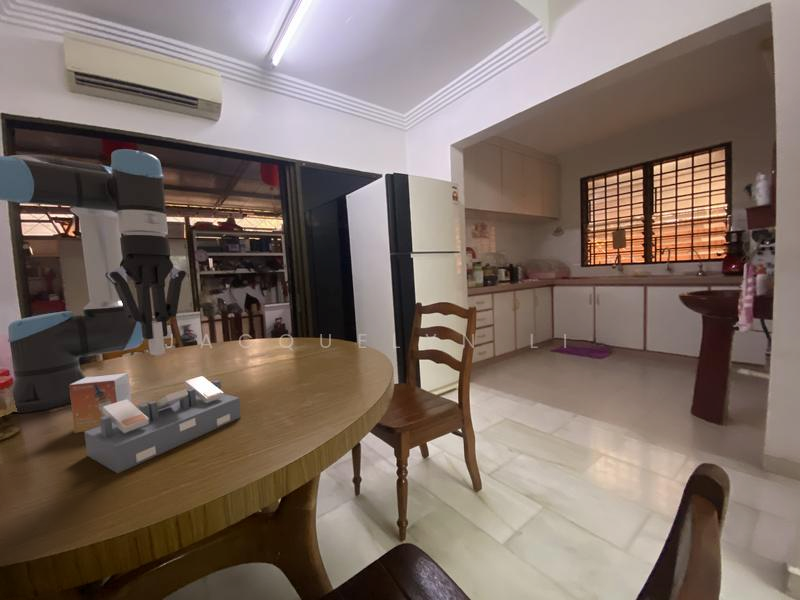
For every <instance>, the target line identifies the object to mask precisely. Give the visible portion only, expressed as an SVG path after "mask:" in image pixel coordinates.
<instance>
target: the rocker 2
mask: <svg viewBox="0 0 800 600" xmlns="http://www.w3.org/2000/svg"><path fill="white" fill-rule="evenodd" d="M187 390H188V388H183V389H179V390H177V391H173V392H171V393H168V394H165V395H163V397H162V398H160V399H159V400H158V401H156V402H157V405H158V410H161V409H164V408H167V407H169V406H172V405H173V404H175V403H176V402H178V401H179V400H181V399H182V398H184V397H185V396H187V395H188V392H187Z"/></svg>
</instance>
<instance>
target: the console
mask: <svg viewBox="0 0 800 600" xmlns="http://www.w3.org/2000/svg"><path fill="white" fill-rule="evenodd" d="M211 383H212V384H213V385H215V386H216V387H217V388H218V389H220V390H221V391H222V382H221V380H212V382H211ZM187 392H188V395H187V396H185V397H184V398H182V399H181V400H179V401H178V402H176V403H175V404H173V405H172V406H169V407H167V408H164V409H161V410H158V405H157V401H155V400H151V401H147V402H146V403H145V402H144V403H141V404H139V405H137V406H138V407H137V408H138V409H139V410H140V411H141V412H142V413H143V414H145V415H146V416H147V417H148V418H149V424H147V425H145V426H142V427H139V428H137V429H134V430H131V431H129V432H126V433H123V432H122V431H121V430H120V429H119V428H118V427H117V426H116V425H115V424H114V423H113V422H112V420H111V417H110V416H104V417H101V418H100V425H101V426H100V427H97V428H94V429H91V430H88V431H84V432H83V433H84V440H85V447H86V456H87V457H89V458H90V459H92V460H94V461H96V462H97V463H99V464H100V465H102V466H105V467H106V468H107V469H109V470H111V471H113V472H114V473H116V474H119V473H122V472H124V471H127V470H129V469H131V468H133V467H135V466H137V465H140V464H142V463H144V462H146V461H148V460H151V459H153V458H155V457H157V456H159V455H162V454H164V453H166V452H167V451H168V452H169V451H170V450H172V449H175V448H176V447H179V446H181V445H184V444H185V443H187V442H191V441H192V440H195V439H197V438H198V437H201V436H203V435H205V434H208V433H209V432H211V431H214V430H216V429H218V428H221V427H222V426H225V425H228V424H230V423H231V422H234V421H237V420H238V419H239V418H242V416H241V415H242V412H241V403H240V402H241V401H240V397H238V396H233V395H229V394H225V393H223V397H222V398H219V399H216V400H214V401H211V402H208V403H205V402H204V401H203V400H202V399H200V398H199V397H198V396H197V395H196V394H195V389H188V388H187Z"/></svg>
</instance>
